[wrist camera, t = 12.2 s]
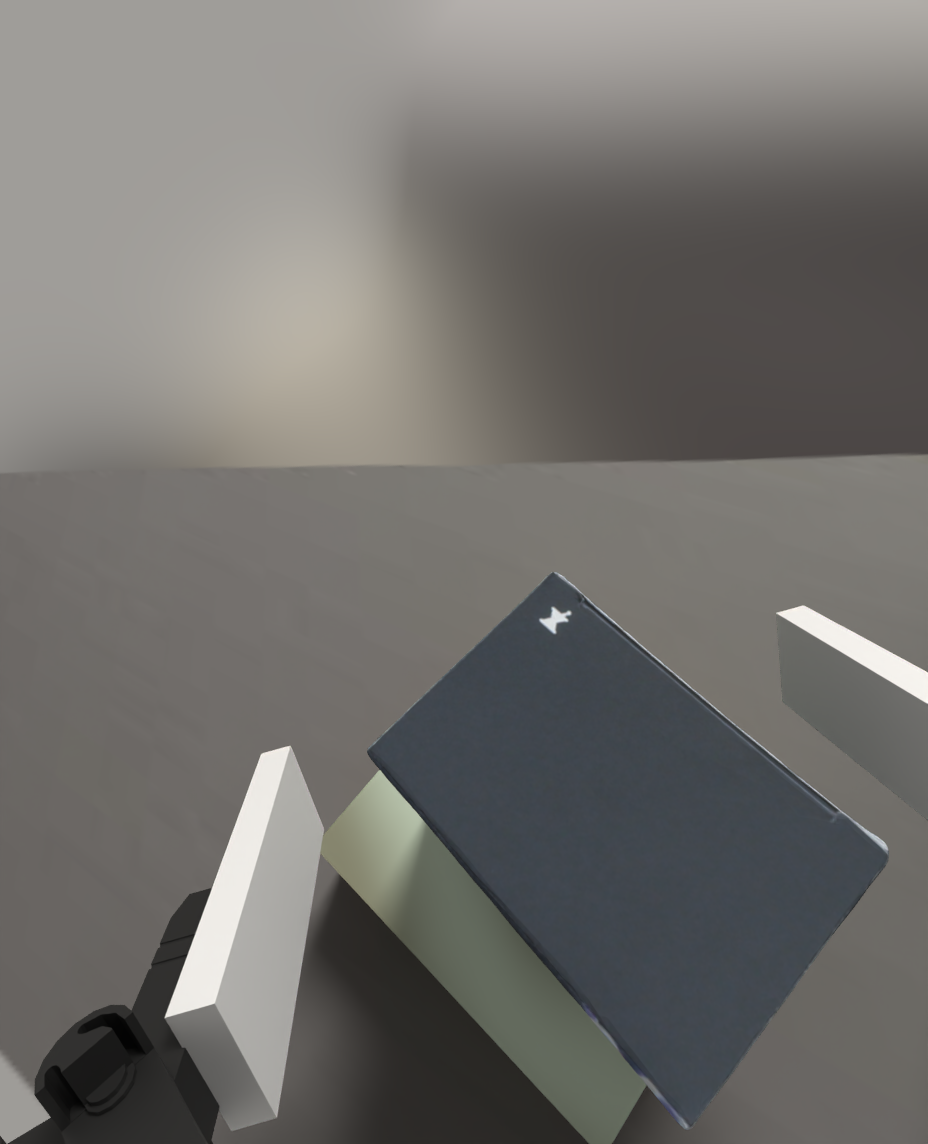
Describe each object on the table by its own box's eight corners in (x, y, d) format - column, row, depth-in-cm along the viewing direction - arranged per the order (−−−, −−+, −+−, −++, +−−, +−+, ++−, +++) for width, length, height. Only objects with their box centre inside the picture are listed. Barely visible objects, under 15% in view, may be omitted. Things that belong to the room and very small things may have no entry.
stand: (527, 639, 28) (528, 597, 24) (758, 813, 24) (813, 804, 20) (351, 848, 25) (313, 846, 20) (585, 1093, 21) (603, 1159, 16)
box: (431, 797, 21) (355, 745, 11) (542, 686, 22) (557, 557, 13) (603, 996, 18) (695, 1154, 8) (718, 854, 19) (910, 851, 10)
